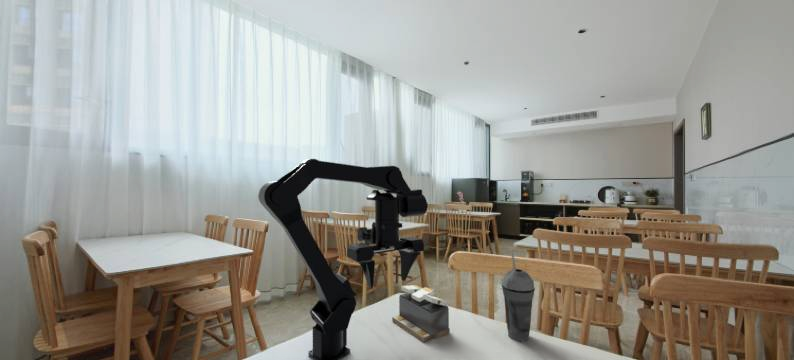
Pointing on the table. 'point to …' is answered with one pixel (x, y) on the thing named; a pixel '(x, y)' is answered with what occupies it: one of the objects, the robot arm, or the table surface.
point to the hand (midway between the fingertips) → (387, 284)
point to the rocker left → (410, 288)
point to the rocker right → (434, 299)
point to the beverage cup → (518, 302)
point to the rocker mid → (420, 293)
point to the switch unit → (422, 318)
